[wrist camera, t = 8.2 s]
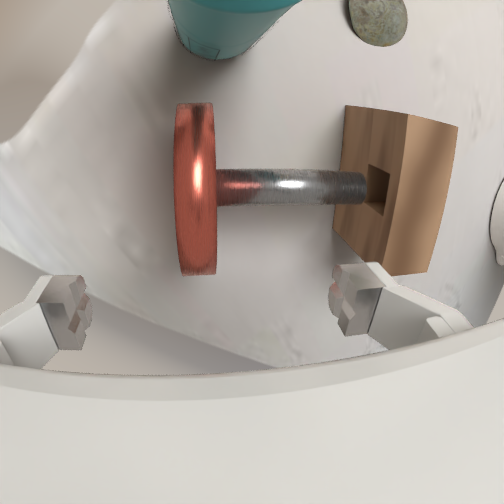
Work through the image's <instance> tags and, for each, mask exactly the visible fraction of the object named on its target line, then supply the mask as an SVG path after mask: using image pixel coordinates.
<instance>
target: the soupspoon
mask: <svg viewBox="0 0 504 504" xmlns="http://www.w3.org/2000/svg"><path fill="white" fill-rule="evenodd" d="M349 11H350V16H351V20H352V25H353V28H354V30H355V32H356V33H357V35H358V36H359V37H360V38H361V40H363V41H364V42H366V43H368V44H371V45H374V46H381V47H386V46H391V45H393V44H396V43H397V42H399V41H400V40H401V39H402V38H403V36H404V34H405V32H406V28H407V21H408V19H407V11H406V7H405V5H404V2H403V0H349Z"/></svg>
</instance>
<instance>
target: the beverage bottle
mask: <svg viewBox="0 0 504 504" xmlns="http://www.w3.org/2000/svg"><path fill="white" fill-rule="evenodd" d="M300 1H302V0H168V4H169V5H170V8H171V13H172V16H173V19H174V21H175V24H176V27H177V30H178V33H179V36H180V38H178V39H180V40H182V42H183V45H185V46H186V47H187V48H188V49H189V50H190V53H191V51H192V53H194V54H196V55H199V56H201V57H204V59H206V58H208V59H215V60H216V59H227V58H231V57H234V56H237V55H239V54H241V53H243V52H244V51H246V50H247V49H248V48H249V47H250V46H252V45H253V44H254V43H255V42H256V41H257V40H258V39H260V37H261V36H262V35H263V34H264V33H265V32H266V31H267V30H268V29H269V28H270V27H271V26H272V25H273V24H274V23H275V22H276V21H277V20H278V19H279V18H280V17H281V16H283V14H284V13H286V12H287V11H288V10H289V9H290V8H291V7H292V6H294V5H295V4H297V3H298V2H300ZM168 9H169V7H168ZM169 14H170V13H169ZM273 26H274V25H273ZM273 26H272V27H273ZM275 26H276V25H275ZM272 27H271V28H272ZM174 29H175V27H174ZM175 32H176V30H175ZM176 34H177V33H176ZM177 37H178V36H177ZM262 38H263V37H262ZM259 41H260V40H259ZM259 41H258V42H259ZM258 42H257V43H258ZM257 43H256V44H257ZM256 44H255V45H256ZM253 46H254V45H253ZM187 51H188V50H187ZM248 51H249V50H248ZM199 58H200V57H199ZM215 60H214V61H215ZM211 61H212V60H211Z"/></svg>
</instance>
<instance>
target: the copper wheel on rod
mask: <svg viewBox="0 0 504 504" xmlns="http://www.w3.org/2000/svg"><path fill="white" fill-rule="evenodd" d="M366 192H367V184H366V180H365V177H364V175H363V174H362V173H361V172H352V171H333V170H305V169H216V156H215V131H214V115H213V106H212V103H188V104H178V105H177V110H176V117H175V130H174V206H175V223H176V236H177V247H178V255H179V262H180V268H181V273H182V276H195V275H213V274H216V265H217V206H247V205H307V204H341V205H360V204H362V203H363V202H364V200H365V197H366Z"/></svg>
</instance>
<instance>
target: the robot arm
mask: <svg viewBox="0 0 504 504" xmlns="http://www.w3.org/2000/svg"><path fill="white" fill-rule="evenodd" d="M490 233H491V240H492V243H493V245H494V247H495V249H496V261H497V263H498V264H500V265H504V181H503V183H502V185H501V187H500V189H499V192H498V194H497V197H496V200H495V203H494V207H493V211H492V217H491V226H490ZM332 278H333V279H334V281H335V282H334V283H333V284H332V286H331V287H330V288H329V294H328V301H329V307H330V310H331V312H332V314H333V315H334V316H336V317H338V318H339V320H338V325H339V327H340V328H341V330H342V332H343V334H344V336H352V335H360V334H368V335H369V336H370V337H372V338H373V339H375V340H376V341H377V342H379V343H380V344H382V345H383V346H384V347H386V348H387V349H388V350H387V351H382V352H378V353H373V354H368V355H362V356H357V357H351V358H346V359H340V360H334V361H328V362H321V363H314V364H307V365H300V366H292V367H284V368H275V369H266V370H256V371H245V372H231V373H216V374H194V375H110V374H90V373H76V372H63V371H53V370H43V369H41V368H42V367H43V366H44V365H45V364H46V363H47V362H48V361H49V360H50V359H51V358H52V357H53V356H54V355H55V354H56V353H57V352H58V351H59V349H60V350H82V347H83V344H84V341H85V338H86V334H85V331H84V330H86V329H87V328H88V327H89V326H90V324H91V321H92V306H91V302H90V299H89V297H88V296H87V295H86V294H85V293H84V291H85V289H86V284H85V281H84V278H83V277H82V276H81V275H44V276H41V277H40V278H39V279H38V281H37V282H36V283H35V285H34V287H33V288H32V289H31V291H30V292H29V294H28V295H27V297H26V298H25V300H24V301H23V303H18V304H16V305H15V306H13V307H11V308H10V309H8V310H7V311H5V312H3V313H2V314H0V504H504V318H503V319H500V320H497V321H494V322H491V323H488V324H485V325H482V326H479V327H475V328H474V327H473V326H472V325H471V324H470V323H469V321H468V320H467V319H466V318H465V317H464V316H463V315H462V314H461V313H460V312H459V311H458V310H456V309H454V308H452V307H450V306H448V305H445V304H443V303H441V302H439V301H437V300H434V299H432V298H430V297H428V296H426V295H423V294H421V293H419V292H417V291H414V290H412V289H410V288H408V287H405V286H403V285H402V286H399V285H398V284H397V283H396V282H395V280H394V279H393V278H392V277H391V276H390V275H389V274H388V273H387V272H386V271H385V270H384V268H383V267H382V266H381V265H380V264H379V263H378V262H375V261H374V262H364V263H353V264H342V265H335V267H334V269H333V273H332Z"/></svg>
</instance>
